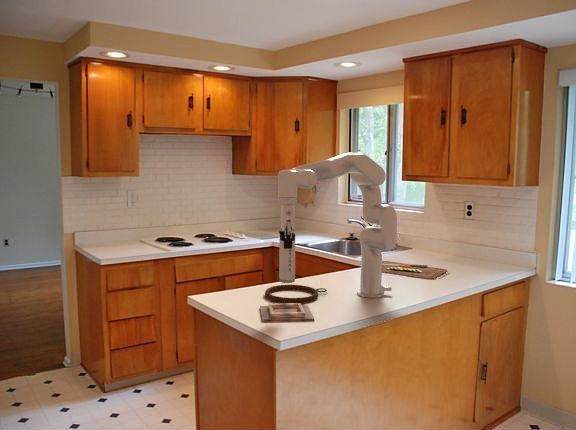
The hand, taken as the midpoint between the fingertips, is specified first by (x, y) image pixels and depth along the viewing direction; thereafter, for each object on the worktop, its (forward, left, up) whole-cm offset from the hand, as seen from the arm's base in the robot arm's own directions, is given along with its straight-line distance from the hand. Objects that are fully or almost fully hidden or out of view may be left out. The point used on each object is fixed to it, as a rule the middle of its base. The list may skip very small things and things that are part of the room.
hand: (286, 246), depth 205 cm
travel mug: (0, 0, -14) cm, 14 cm away
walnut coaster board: (0, 0, -28) cm, 28 cm away
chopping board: (-75, -76, -28) cm, 111 cm away
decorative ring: (-8, -27, -28) cm, 40 cm away
